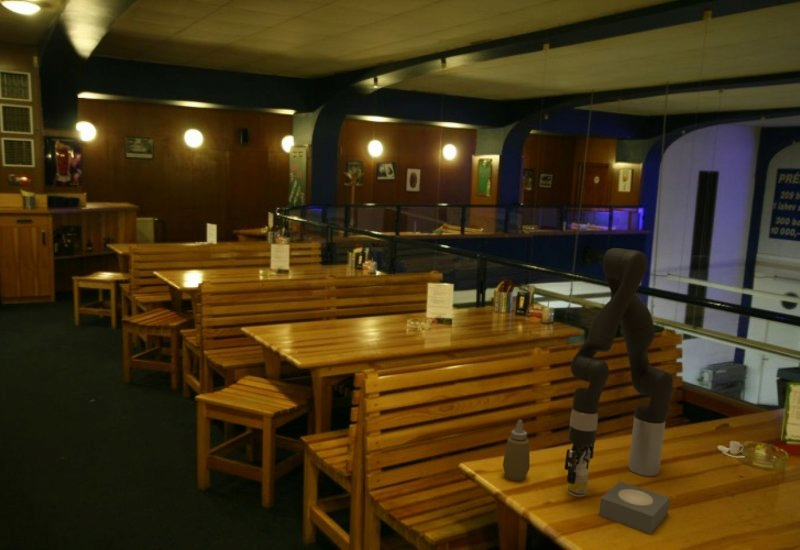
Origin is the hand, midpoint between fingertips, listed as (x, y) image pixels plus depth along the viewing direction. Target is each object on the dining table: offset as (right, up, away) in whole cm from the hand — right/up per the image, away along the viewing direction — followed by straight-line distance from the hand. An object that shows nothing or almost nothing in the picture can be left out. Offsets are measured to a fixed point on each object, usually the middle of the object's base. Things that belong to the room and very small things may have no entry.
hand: (577, 478), depth 198 cm
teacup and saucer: (+62, -2, +40) cm, 74 cm away
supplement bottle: (0, -5, +1) cm, 5 cm away
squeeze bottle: (-16, -2, +9) cm, 19 cm away
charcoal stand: (+13, -7, -10) cm, 18 cm away
